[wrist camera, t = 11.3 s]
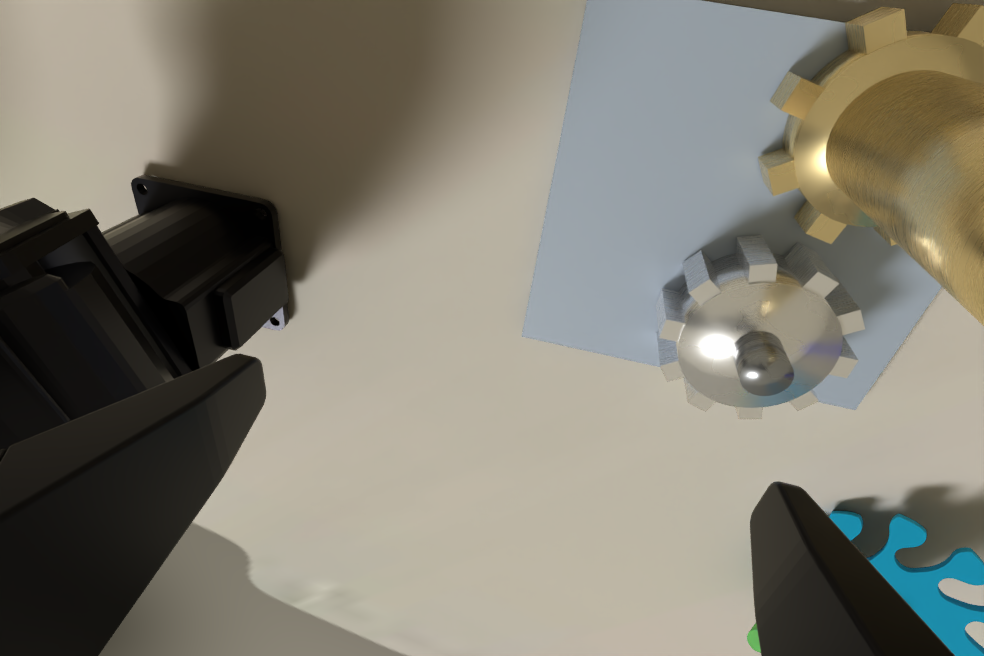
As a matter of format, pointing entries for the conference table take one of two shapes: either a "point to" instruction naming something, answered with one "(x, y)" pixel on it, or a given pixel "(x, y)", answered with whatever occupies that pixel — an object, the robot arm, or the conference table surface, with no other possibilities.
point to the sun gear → (756, 328)
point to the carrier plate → (692, 180)
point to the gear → (921, 582)
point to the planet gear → (894, 143)
